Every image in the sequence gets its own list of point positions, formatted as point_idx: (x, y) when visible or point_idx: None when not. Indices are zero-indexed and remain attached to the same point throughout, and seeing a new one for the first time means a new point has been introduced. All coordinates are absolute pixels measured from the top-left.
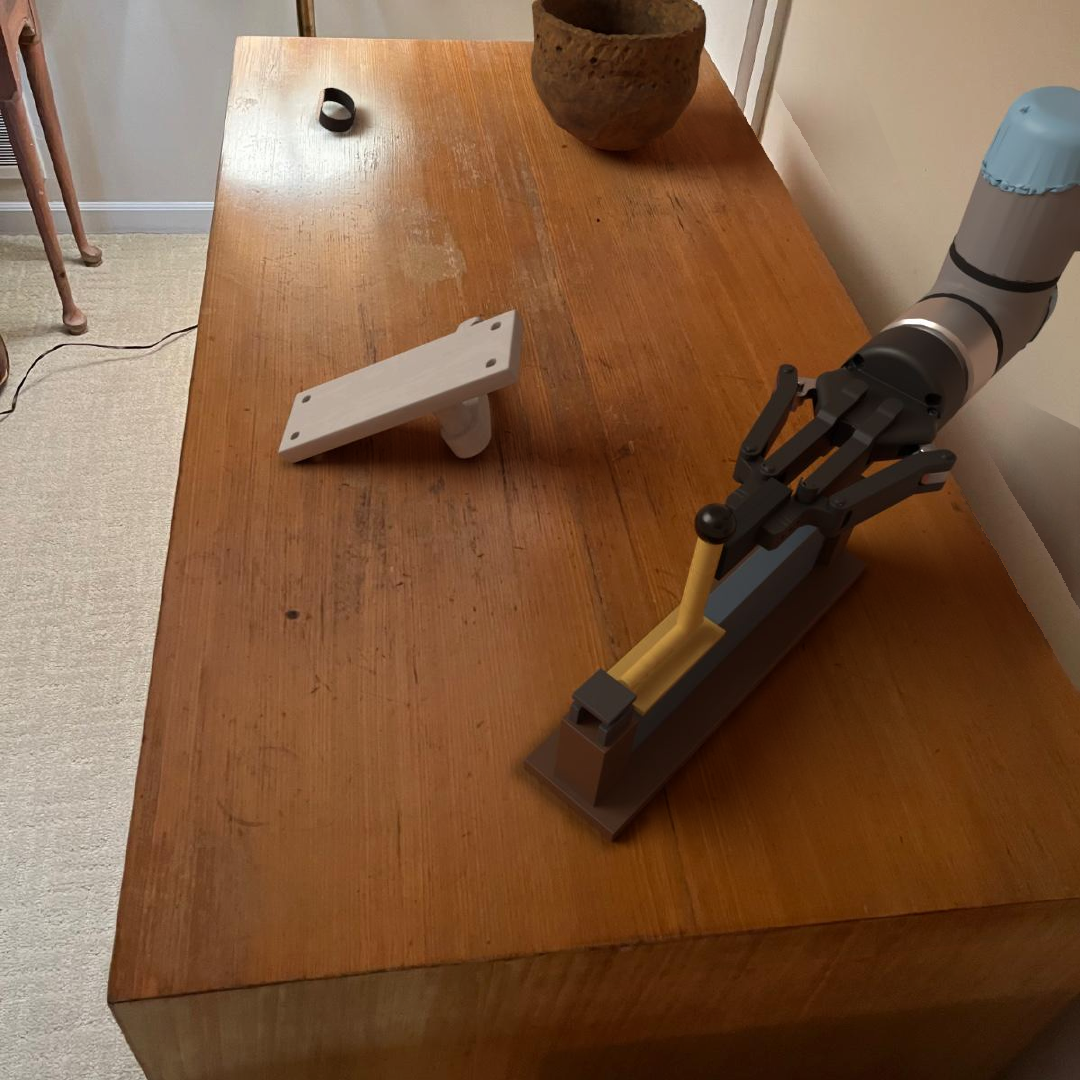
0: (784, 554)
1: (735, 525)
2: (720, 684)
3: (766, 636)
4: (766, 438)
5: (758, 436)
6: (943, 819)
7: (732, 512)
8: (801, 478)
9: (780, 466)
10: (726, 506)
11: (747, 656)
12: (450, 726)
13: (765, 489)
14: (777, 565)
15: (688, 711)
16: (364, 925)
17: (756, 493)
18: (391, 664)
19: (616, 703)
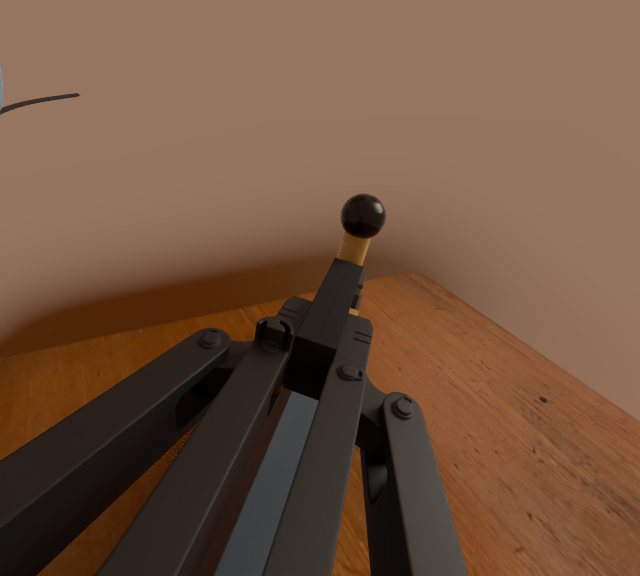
0: (243, 522)
1: (345, 204)
2: (264, 439)
3: (225, 527)
4: (394, 450)
5: (411, 450)
6: (46, 398)
7: (356, 201)
8: (291, 329)
9: (333, 382)
10: (365, 203)
11: (244, 485)
12: (411, 363)
13: (334, 326)
14: (251, 491)
15: (283, 404)
16: (372, 289)
17: (343, 317)
18: (471, 387)
19: None
